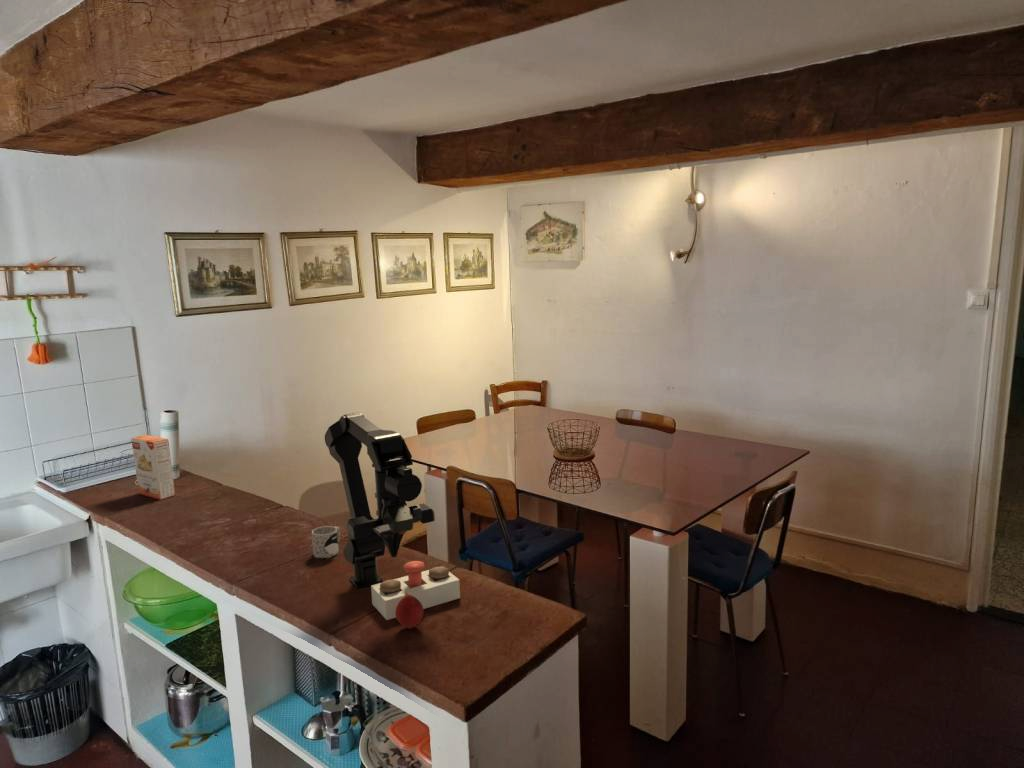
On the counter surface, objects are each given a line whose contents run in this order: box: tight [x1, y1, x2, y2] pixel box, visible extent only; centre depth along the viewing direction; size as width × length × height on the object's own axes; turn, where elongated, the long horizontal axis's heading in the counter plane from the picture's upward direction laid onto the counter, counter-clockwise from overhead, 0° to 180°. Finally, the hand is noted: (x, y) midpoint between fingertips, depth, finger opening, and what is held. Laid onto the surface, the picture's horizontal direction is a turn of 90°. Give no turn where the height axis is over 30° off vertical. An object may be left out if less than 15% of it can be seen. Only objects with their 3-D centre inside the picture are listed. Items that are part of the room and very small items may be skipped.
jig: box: [370, 565, 461, 621], centre depth 160 cm, size 9×18×4 cm, turn 121°
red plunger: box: [403, 560, 426, 588], centre depth 159 cm, size 5×5×6 cm
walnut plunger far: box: [428, 566, 450, 581], centre depth 163 cm, size 5×5×6 cm
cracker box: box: [130, 434, 176, 501], centre depth 245 cm, size 14×6×21 cm, turn 57°
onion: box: [395, 593, 424, 630], centre depth 148 cm, size 6×6×8 cm
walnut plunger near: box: [380, 579, 401, 596], centre depth 157 cm, size 5×5×6 cm
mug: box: [311, 525, 341, 560], centre depth 190 cm, size 10×7×7 cm, turn 161°
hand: (393, 556), depth 156 cm, fingers closed
